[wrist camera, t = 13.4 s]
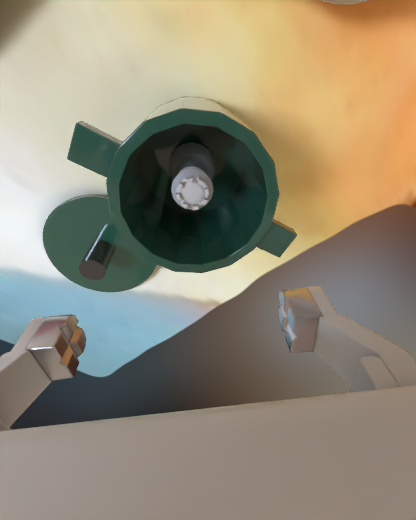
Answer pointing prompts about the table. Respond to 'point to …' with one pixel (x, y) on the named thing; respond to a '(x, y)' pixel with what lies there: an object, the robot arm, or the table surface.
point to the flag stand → (344, 1)
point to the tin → (160, 183)
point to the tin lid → (92, 246)
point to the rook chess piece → (192, 175)
